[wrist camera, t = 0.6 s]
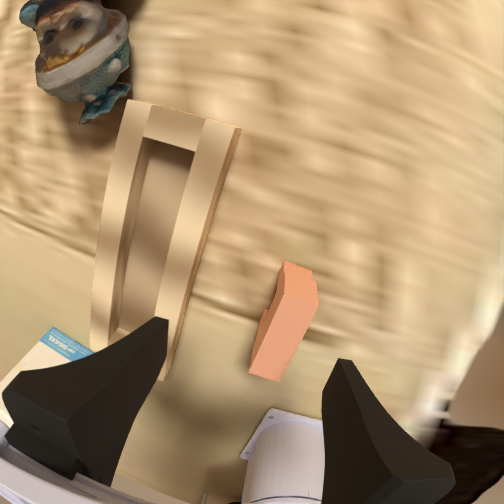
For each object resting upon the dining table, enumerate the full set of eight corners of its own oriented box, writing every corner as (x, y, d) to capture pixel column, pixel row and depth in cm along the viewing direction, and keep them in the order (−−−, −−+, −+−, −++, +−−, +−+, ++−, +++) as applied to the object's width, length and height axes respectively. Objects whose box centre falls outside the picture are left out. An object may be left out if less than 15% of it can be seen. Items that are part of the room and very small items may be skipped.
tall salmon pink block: (282, 333, 24) (278, 382, 19) (257, 325, 24) (248, 372, 19) (313, 265, 22) (319, 305, 17) (286, 255, 22) (284, 293, 17)
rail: (172, 363, 27) (162, 382, 24) (102, 333, 27) (89, 348, 24) (241, 128, 19) (235, 127, 17) (144, 101, 19) (127, 99, 17)
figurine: (150, -102, 9) (106, 99, 12) (159, -40, 17) (139, 124, 20) (27, -73, 7) (-31, 125, 11) (62, -24, 15) (33, 136, 19)
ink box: (53, 323, 27) (-29, 406, 15) (121, 367, 28) (54, 472, 15) (49, 373, 31) (-12, 448, 18) (108, 410, 31) (57, 498, 19)
